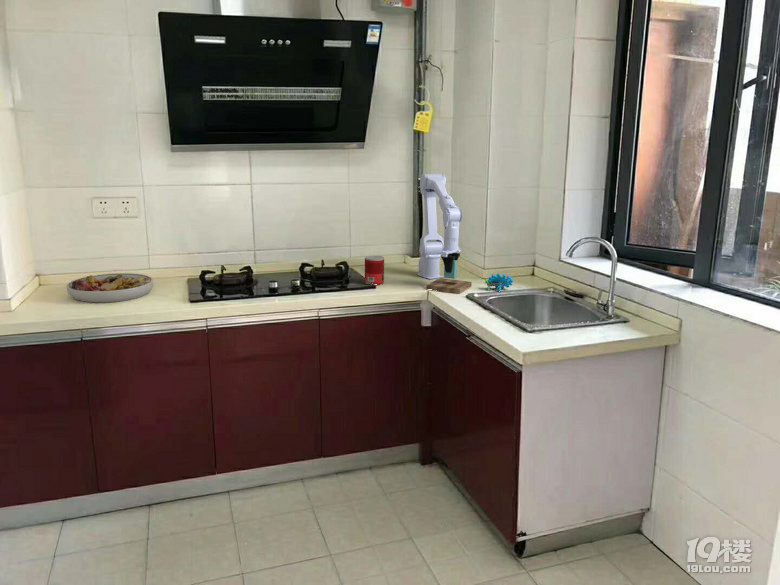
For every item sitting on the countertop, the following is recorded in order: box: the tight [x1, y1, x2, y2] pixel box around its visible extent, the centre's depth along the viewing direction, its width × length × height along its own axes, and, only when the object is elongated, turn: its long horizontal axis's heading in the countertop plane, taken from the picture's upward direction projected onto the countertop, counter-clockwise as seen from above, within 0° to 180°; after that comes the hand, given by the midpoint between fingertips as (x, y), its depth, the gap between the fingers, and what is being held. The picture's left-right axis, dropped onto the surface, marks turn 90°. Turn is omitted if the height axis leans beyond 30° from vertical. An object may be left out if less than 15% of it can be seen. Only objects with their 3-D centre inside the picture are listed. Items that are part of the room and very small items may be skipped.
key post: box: [443, 260, 459, 280], centre depth 258 cm, size 4×3×8 cm
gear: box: [484, 273, 514, 292], centre depth 256 cm, size 11×6×10 cm
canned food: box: [364, 255, 385, 286], centre depth 264 cm, size 8×8×11 cm
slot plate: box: [426, 277, 473, 295], centre depth 259 cm, size 14×14×2 cm
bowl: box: [66, 272, 154, 304], centre depth 242 cm, size 30×30×8 cm
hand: (449, 271), depth 258 cm, fingers closed on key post, 3 cm apart
